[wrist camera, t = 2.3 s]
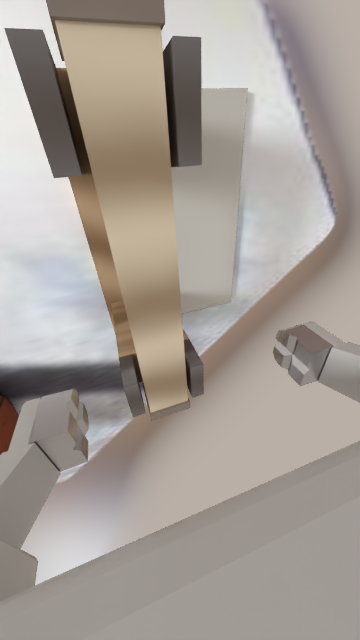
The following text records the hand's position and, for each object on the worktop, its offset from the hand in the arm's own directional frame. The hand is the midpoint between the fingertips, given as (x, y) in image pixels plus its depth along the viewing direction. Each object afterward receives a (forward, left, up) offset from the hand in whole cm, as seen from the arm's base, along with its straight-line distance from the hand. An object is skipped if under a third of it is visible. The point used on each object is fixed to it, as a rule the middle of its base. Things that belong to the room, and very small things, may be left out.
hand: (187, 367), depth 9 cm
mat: (-1, +8, -18) cm, 20 cm away
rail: (0, 0, -8) cm, 8 cm away
